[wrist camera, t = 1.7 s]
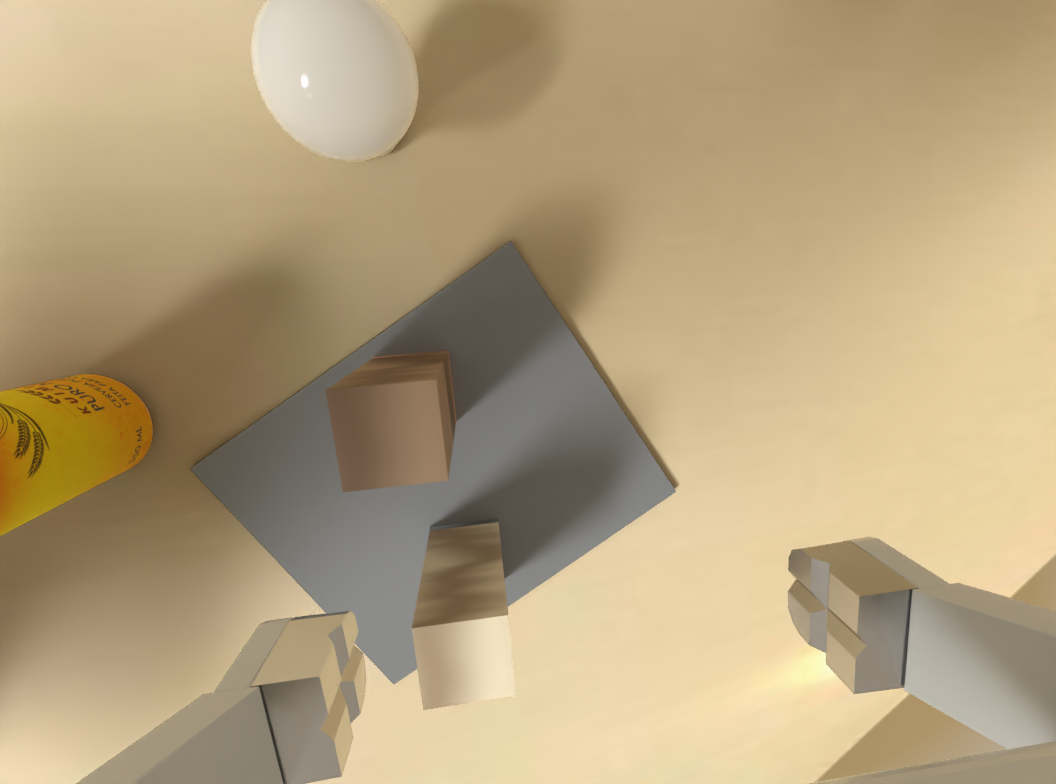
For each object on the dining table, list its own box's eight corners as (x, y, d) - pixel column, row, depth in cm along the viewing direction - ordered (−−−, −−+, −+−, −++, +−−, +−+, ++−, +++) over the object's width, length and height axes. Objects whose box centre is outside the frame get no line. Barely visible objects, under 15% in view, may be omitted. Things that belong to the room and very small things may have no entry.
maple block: (498, 518, 33) (508, 614, 23) (504, 579, 34) (516, 695, 24) (429, 526, 32) (411, 628, 23) (437, 587, 33) (423, 710, 24)
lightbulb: (296, 147, 27) (182, 57, 17) (355, 46, 27) (277, -116, 16) (395, 217, 29) (348, 174, 18) (454, 122, 28) (442, 18, 17)
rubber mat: (394, 679, 35) (393, 684, 35) (193, 466, 30) (189, 468, 30) (673, 489, 34) (676, 491, 34) (510, 241, 30) (510, 240, 29)
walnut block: (448, 350, 30) (436, 379, 21) (456, 421, 31) (448, 480, 22) (373, 357, 30) (324, 389, 20) (383, 428, 31) (342, 493, 21)
